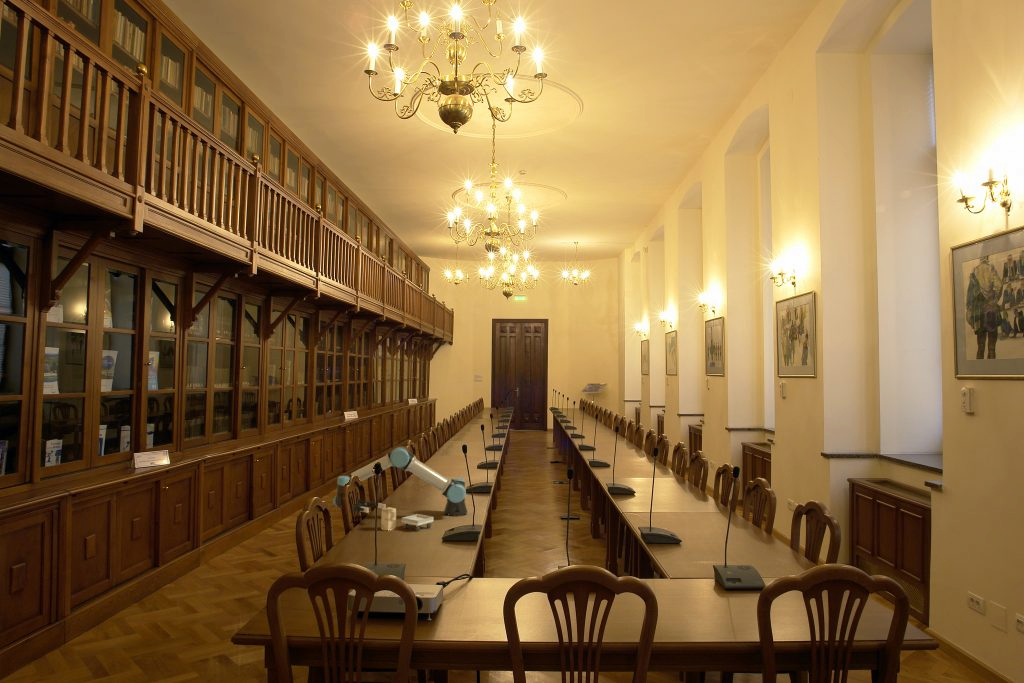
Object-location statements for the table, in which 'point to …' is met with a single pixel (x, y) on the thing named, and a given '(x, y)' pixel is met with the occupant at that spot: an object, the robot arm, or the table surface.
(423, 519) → the cart
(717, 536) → the table surface
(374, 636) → the table surface
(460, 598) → the table surface
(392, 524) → the maple block
